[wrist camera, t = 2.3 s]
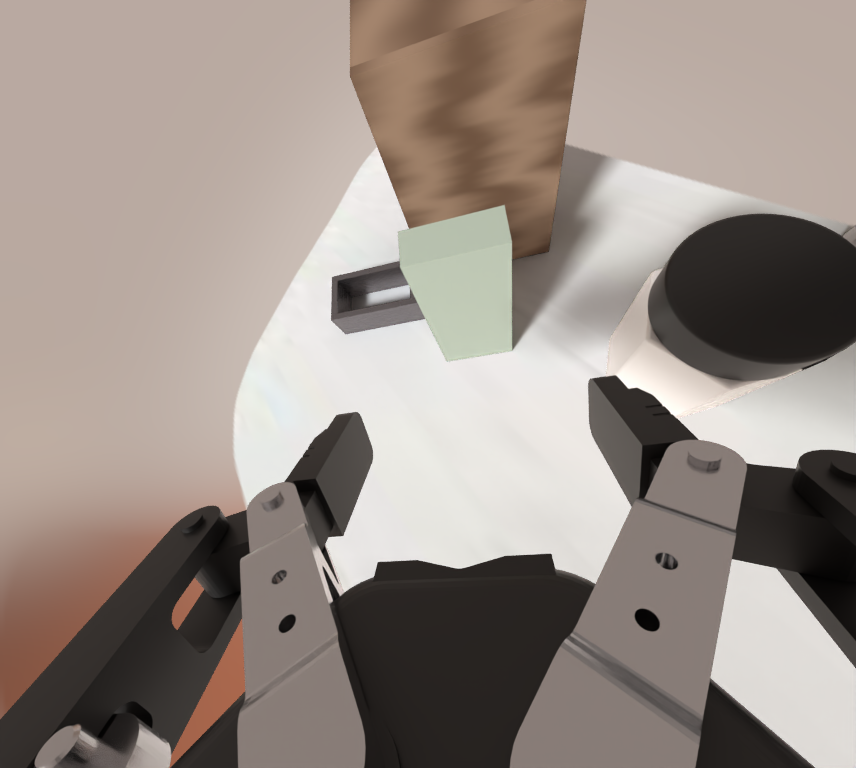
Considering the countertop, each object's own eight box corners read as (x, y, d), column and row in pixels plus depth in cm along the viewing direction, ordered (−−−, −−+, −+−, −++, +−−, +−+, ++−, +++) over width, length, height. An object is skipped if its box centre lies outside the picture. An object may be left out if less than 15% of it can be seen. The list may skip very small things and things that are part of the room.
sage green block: (506, 316, 31) (501, 191, 18) (512, 350, 30) (511, 242, 17) (443, 328, 32) (397, 218, 19) (446, 361, 31) (400, 267, 18)
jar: (721, 435, 24) (898, 386, 13) (598, 415, 27) (661, 359, 15) (722, 325, 26) (874, 204, 15) (609, 315, 29) (670, 204, 18)
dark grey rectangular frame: (429, 274, 35) (421, 255, 32) (433, 317, 33) (425, 301, 30) (345, 292, 36) (332, 276, 34) (345, 334, 35) (331, 320, 32)
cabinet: (534, 192, 35) (554, -86, 18) (548, 251, 32) (587, -9, 15) (423, 220, 37) (350, -3, 20) (428, 277, 34) (350, 76, 18)
